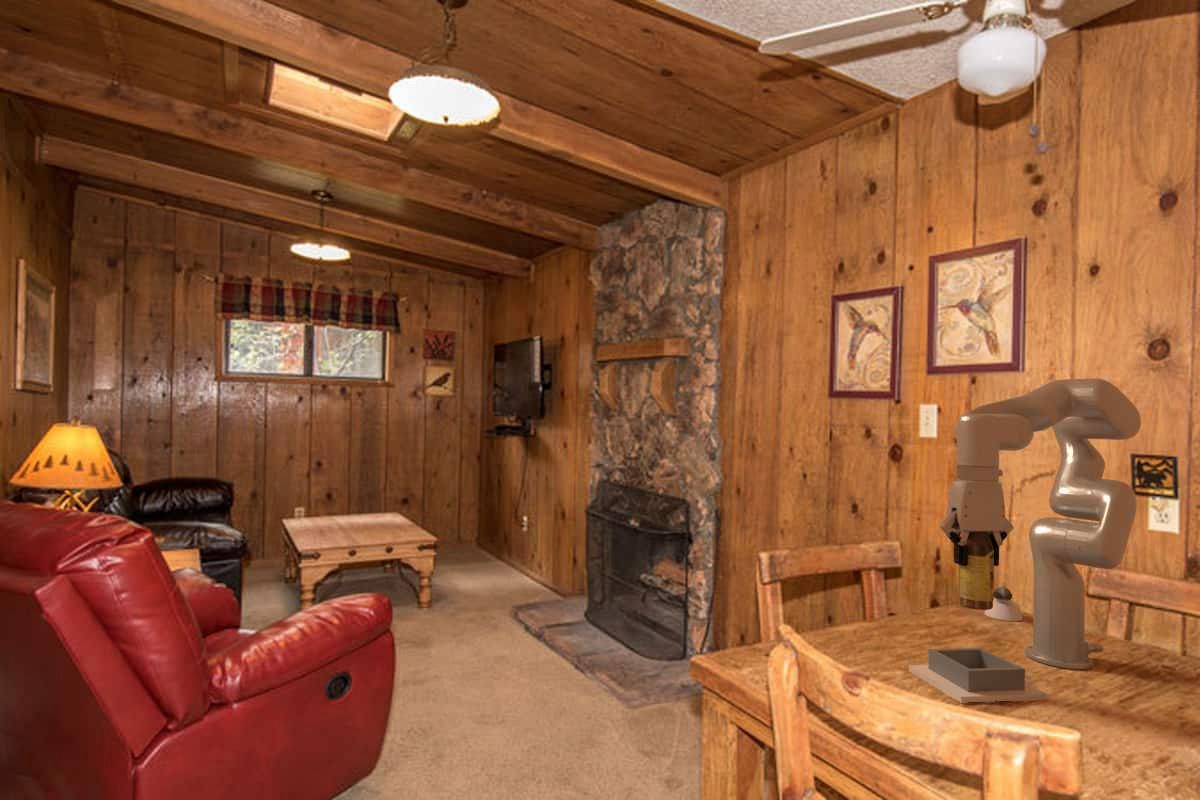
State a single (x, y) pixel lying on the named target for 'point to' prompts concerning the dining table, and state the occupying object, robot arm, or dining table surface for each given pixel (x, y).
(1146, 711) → the dining table surface
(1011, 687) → the bottle stand
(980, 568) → the sauce bottle
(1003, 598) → the inkwell
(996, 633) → the dining table surface
